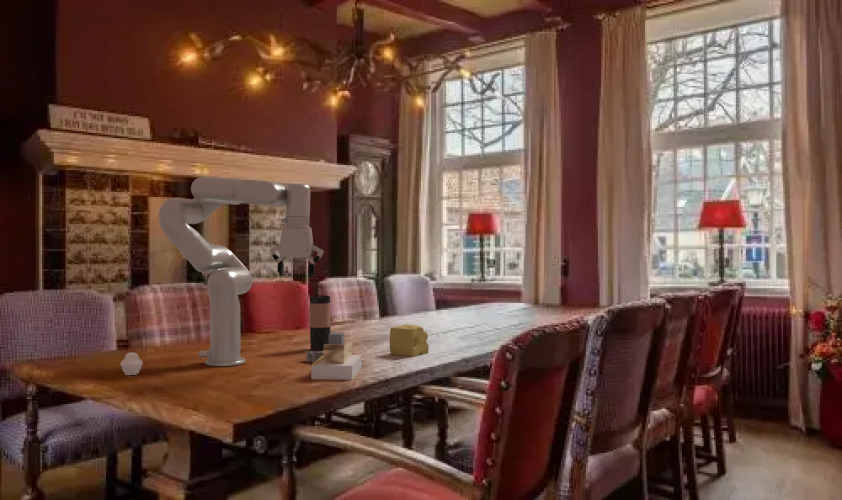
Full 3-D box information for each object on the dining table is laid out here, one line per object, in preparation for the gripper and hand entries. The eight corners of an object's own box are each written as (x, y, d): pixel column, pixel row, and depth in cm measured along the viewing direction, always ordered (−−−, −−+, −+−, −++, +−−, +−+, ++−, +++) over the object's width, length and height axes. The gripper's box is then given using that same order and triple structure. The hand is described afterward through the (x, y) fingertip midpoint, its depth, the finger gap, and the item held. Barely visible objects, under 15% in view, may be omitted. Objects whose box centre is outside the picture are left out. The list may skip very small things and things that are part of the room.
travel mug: (328, 351, 239) (328, 297, 239) (308, 351, 239) (308, 297, 239) (331, 347, 247) (331, 295, 247) (311, 347, 247) (311, 295, 247)
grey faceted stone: (145, 372, 197) (145, 350, 197) (140, 376, 191) (140, 353, 191) (123, 373, 196) (123, 350, 196) (117, 377, 190) (117, 353, 190)
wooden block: (323, 363, 191) (323, 344, 191) (333, 355, 206) (333, 337, 206) (343, 363, 191) (343, 345, 191) (351, 355, 206) (351, 338, 206)
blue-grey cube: (328, 347, 196) (328, 334, 196) (331, 345, 200) (331, 332, 200) (341, 347, 195) (341, 334, 195) (344, 345, 199) (344, 332, 199)
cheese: (428, 353, 235) (428, 325, 235) (412, 357, 226) (412, 329, 226) (405, 350, 240) (405, 324, 240) (388, 354, 231) (388, 327, 231)
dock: (311, 379, 188) (311, 364, 188) (324, 367, 207) (324, 354, 207) (352, 379, 187) (352, 365, 187) (361, 367, 206) (361, 354, 206)
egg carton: (339, 363, 216) (339, 350, 216) (321, 365, 211) (321, 353, 211) (321, 358, 224) (321, 347, 224) (302, 361, 219) (303, 349, 219)
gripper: (267, 221, 204) (265, 275, 204) (321, 223, 203) (319, 277, 203) (274, 222, 212) (272, 274, 212) (326, 223, 211) (324, 276, 211)
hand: (295, 275), depth 208 cm, fingers open, 9 cm apart
